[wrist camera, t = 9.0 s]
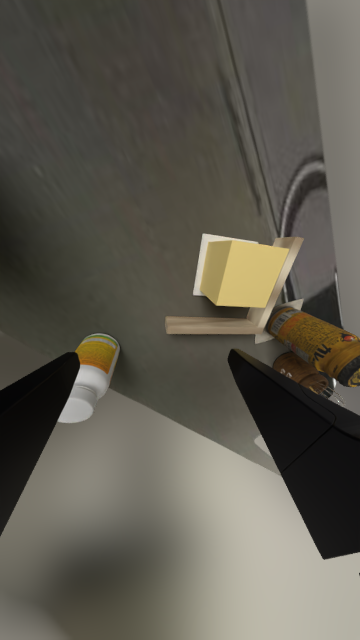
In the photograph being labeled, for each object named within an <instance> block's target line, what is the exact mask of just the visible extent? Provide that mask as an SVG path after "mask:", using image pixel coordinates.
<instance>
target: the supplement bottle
mask: <svg viewBox="0 0 360 640" xmlns="http://www.w3.org/2000/svg"><path fill="white" fill-rule="evenodd" d="M75 352H76V353H77V354H78V357H79V360H80V369H79V372H78V375H77V378H76V380H75V383H74V386H73V388H72V391H71V394H70V396H69V398H68V401H67V403H66V405H65V407H64V409H63V411H62V413H61V415H60V417H59V419H58V421H59V422H64V423H76V422H80V421H84V420H86V419H88V418H89V417H90V416H91V415H92V414H93V412H94V409H95V406H96V404H97V400H98V399H99V398H101V397H102V396H103V395H104V394H105V393H106V392H107V390H108V387H109V385H110V382H111V378H112V375H113V372H114V368H115V365H116V362H117V359H118V356H119V352H120V346H119V344H118V342H117V341H116V340H115V339H114V338H113V337H111V336H109V335H106V334H92V335H89V336H87V337H86V338H85V339H84V340H83V341H82V342H81V344H80V345H79V347H78V348H77V349H76V351H75Z"/></svg>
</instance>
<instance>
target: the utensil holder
mask: <svg viewBox="0 0 360 640" xmlns="http://www.w3.org/2000/svg"><path fill="white" fill-rule="evenodd" d="M273 369H274V370H276V371H278V372H280V373H281V374H283V375H285V376H287V377H289V378H290V379H292V380H294V381H296V382H297V383H299V384H301V385H303V386H304V387H306V388H308V389H310V390H312V391H313V392H315V393H317V394H321V392H322V391H324V390H325V389H326V387H327V386H328V380H327V379H326V378H325V377H324V376H322V375H320V374H319V372H318V371H317V369H315V368H314V367H313V366H312V365H310V364H309V363H307V362H306V361H305V360H303V359H302V358H301V357H299V356H298V355H297V354H295V353H285V354H283V355H281V356H280V357H278V358H277V359H276V361H275V362H274V364H273ZM328 388H329V387H328ZM331 390H332V389H331ZM325 391H326V390H325ZM333 391H334V390H333ZM334 392H335V391H334ZM328 393H329V391H328ZM329 394H330V393H329ZM337 394H338V393H337ZM332 395H333V394H332ZM338 395H339V394H338ZM325 396H326V395H325ZM326 397H327V396H326ZM326 397H325V398H326ZM343 406H345V404H344V405H342V407H343Z"/></svg>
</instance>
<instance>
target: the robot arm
mask: <svg viewBox="0 0 360 640" xmlns="http://www.w3.org/2000/svg"><path fill="white" fill-rule="evenodd" d="M228 363H229V366H230V369H231V371H232V374H233V377H234V379H235V382H236V384H237V386H238V388H239V390H240V392H241V394H242V396H243V398H244V400H245V402H246V404H247V407H248V409H249V411H250V413H251V415H252V417H253V419H254V421H255V423H256V425H257V427H258V429H259V431H260V433H261V435H262V437H263V438H264V441H265V443H266V445H267V447H268V449H269V451H270V453H271V455H272V457H273V459H274V461H275V463H276V465H277V467H278V469H279V471H280V473H281V476H282V478H283V480H284V482H285V484H286V486H287V488H288V490H289V492H290V494H291V496H292V498H293V500H294V502H295V504H296V506H297V508H298V510H299V512H300V514H301V516H302V518H303V520H304V523H305V524H306V527H307V529H308V531H309V533H310V535H311V537H312V539H313V541H314V543H315V545H316V547H317V549H318V551H319V553H320V554H321V556H322V558H323V559H324V560H325V559H330V558H335V557H339V556H344V555H348V554H353V553H358V552H360V416H359V415H357V414H355V413H353V412H352V411H350V410H347V409H346V408H344V407H342V406H340V405H338V404H336V403H334V402H332V401H330V400H328V399H326V398H325V397H323V396H321V395H319V394H317V393H315V392H313V391H312V390H310V389H308V388H306V387H304V386H303V385H301V384H299V383H297V382H296V381H294V380H292V379H290V378H289V377H287V376H285V375H283V374H281V373H280V372H278V371H276V370H274V369H273V368H271V367H269V366H267V365H266V364H264V363H262V362H260V361H259V360H257V359H255V358H253V357H252V356H250V355H248V354H246V353H245V352H243V351H241V350H239V349H231V350H230V353H229V356H228ZM79 369H80V360H79V357H78V354H77V353H76V352H67V353H65V354H63V355H62V356H60V357H58V358H56V359H55V360H53V361H51V362H49V363H48V364H46V365H44V366H42V367H41V368H39V369H37V370H35V371H34V372H32V373H30V374H28V375H27V376H25V377H23V378H21V379H20V380H18V381H16V382H15V383H13V384H11V385H9V386H7V387H6V388H4V389H2V390H0V536H1V534H2V532H3V530H4V528H5V526H6V524H7V522H8V520H9V518H10V516H11V514H12V512H13V510H14V508H15V506H16V504H17V502H18V500H19V497H20V495H21V494H22V492H23V490H24V487H25V486H26V483H27V481H28V479H29V477H30V475H31V473H32V471H33V469H34V467H35V465H36V463H37V461H38V459H39V457H40V455H41V453H42V451H43V449H44V447H45V445H46V443H47V441H48V439H49V437H50V435H51V433H52V431H53V429H54V427H55V425H56V423H57V421H58V419H59V417H60V415H61V413H62V411H63V409H64V407H65V405H66V403H67V401H68V398H69V396H70V394H71V391H72V388H73V386H74V383H75V380H76V378H77V375H78V372H79ZM359 575H360V573H359Z"/></svg>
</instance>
